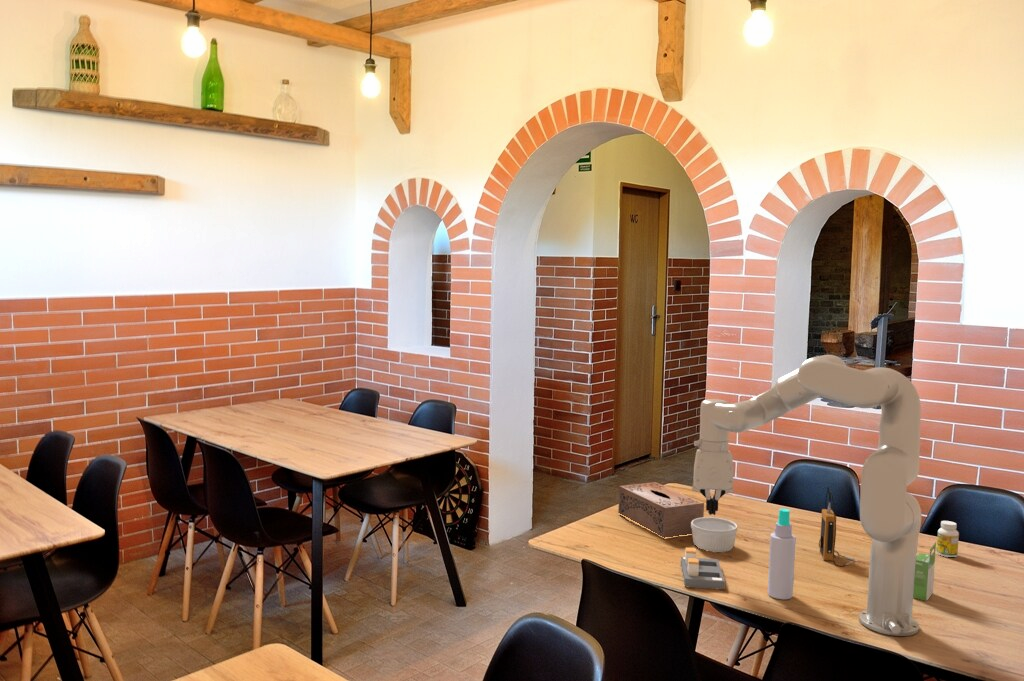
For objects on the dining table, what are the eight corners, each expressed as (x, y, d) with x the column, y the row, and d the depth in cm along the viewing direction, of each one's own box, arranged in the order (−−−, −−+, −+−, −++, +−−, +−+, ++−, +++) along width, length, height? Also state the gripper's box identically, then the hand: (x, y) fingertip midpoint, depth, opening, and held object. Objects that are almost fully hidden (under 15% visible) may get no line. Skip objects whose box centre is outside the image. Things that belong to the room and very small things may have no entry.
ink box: (916, 589, 211) (920, 538, 210) (933, 593, 209) (937, 542, 207) (909, 597, 206) (913, 545, 204) (926, 601, 203) (930, 549, 202)
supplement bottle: (961, 557, 235) (964, 524, 235) (946, 558, 234) (949, 526, 233) (946, 551, 241) (948, 519, 240) (932, 552, 239) (934, 520, 238)
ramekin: (689, 551, 236) (690, 528, 235) (690, 537, 248) (691, 515, 248) (737, 556, 233) (738, 532, 232) (735, 541, 245) (736, 519, 245)
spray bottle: (782, 602, 201) (787, 515, 199) (762, 594, 206) (766, 508, 204) (797, 596, 205) (802, 511, 203) (777, 588, 209) (781, 505, 207)
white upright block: (698, 581, 211) (698, 562, 211) (687, 580, 212) (688, 561, 211) (697, 577, 214) (698, 558, 214) (687, 576, 215) (687, 557, 214)
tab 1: (695, 570, 219) (696, 551, 219) (685, 569, 220) (686, 551, 219) (694, 566, 222) (695, 548, 222) (684, 565, 222) (685, 547, 222)
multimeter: (864, 569, 225) (868, 498, 223) (825, 565, 227) (829, 495, 225) (853, 551, 239) (857, 484, 237) (817, 548, 241) (820, 481, 239)
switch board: (724, 589, 208) (724, 581, 208) (684, 586, 209) (684, 578, 209) (717, 567, 224) (718, 558, 224) (680, 564, 225) (680, 556, 225)
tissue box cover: (618, 515, 269) (619, 486, 268) (654, 511, 275) (655, 482, 274) (663, 540, 246) (665, 507, 245) (702, 534, 252) (704, 503, 251)
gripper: (686, 447, 214) (684, 516, 216) (744, 450, 212) (742, 519, 214) (684, 442, 222) (682, 508, 223) (740, 444, 220) (738, 510, 221)
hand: (711, 513), depth 219 cm, fingers closed
